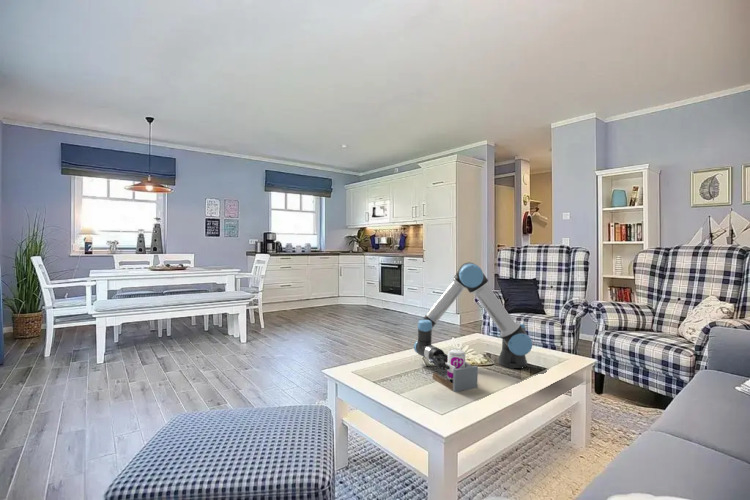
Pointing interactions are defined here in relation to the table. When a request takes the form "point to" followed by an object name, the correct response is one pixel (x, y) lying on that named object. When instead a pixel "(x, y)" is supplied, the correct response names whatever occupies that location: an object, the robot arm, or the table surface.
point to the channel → (443, 381)
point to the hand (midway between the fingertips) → (462, 368)
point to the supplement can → (455, 361)
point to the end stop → (465, 378)
